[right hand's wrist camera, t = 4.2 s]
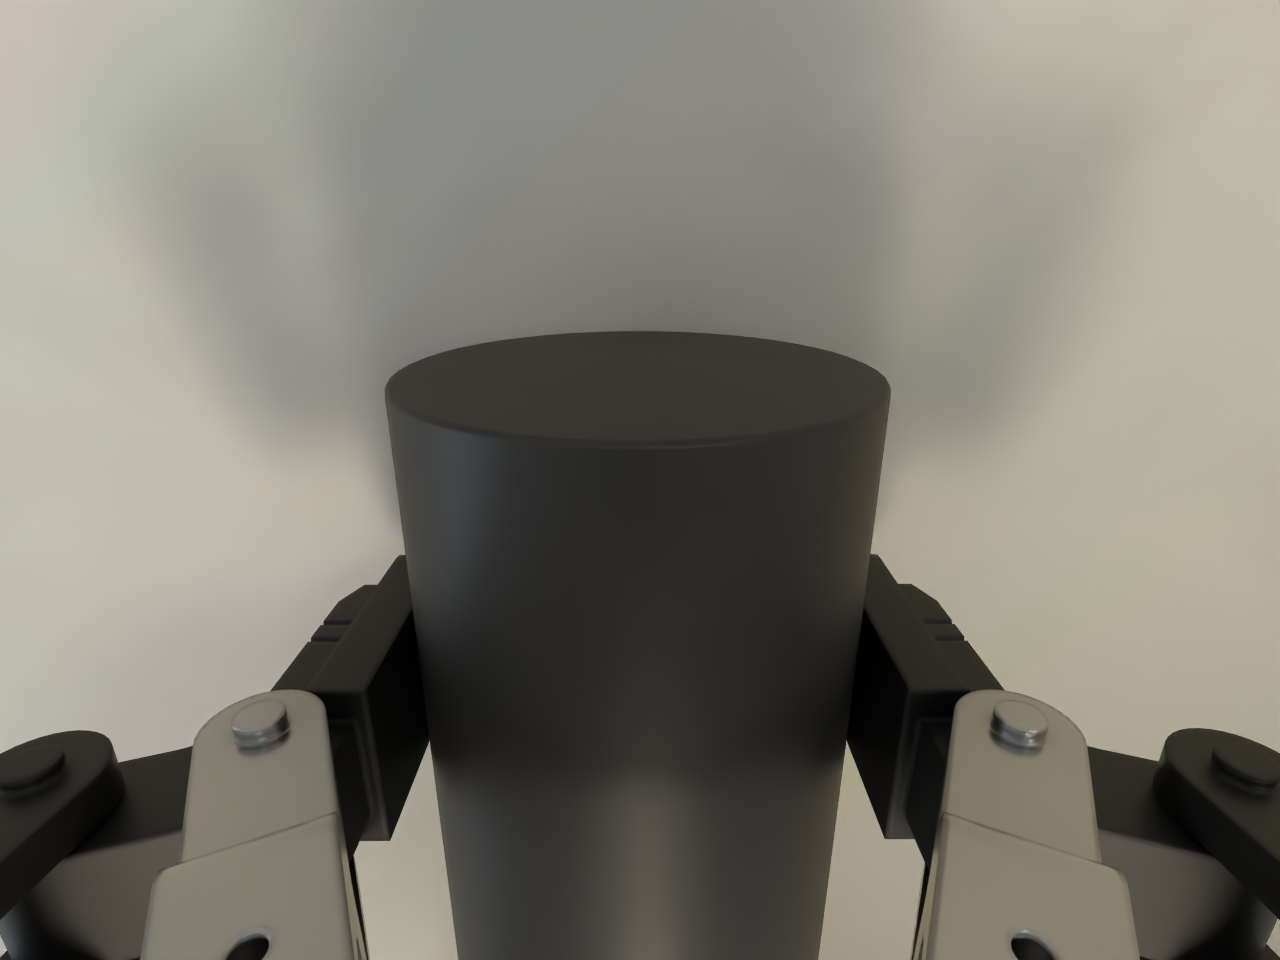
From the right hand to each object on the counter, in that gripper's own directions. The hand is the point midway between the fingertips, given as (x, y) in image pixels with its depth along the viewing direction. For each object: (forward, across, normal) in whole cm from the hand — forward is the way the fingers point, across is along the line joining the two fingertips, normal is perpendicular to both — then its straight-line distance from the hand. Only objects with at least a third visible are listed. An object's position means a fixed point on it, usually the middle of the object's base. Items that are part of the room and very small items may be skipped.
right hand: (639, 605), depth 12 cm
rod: (+2, 0, -10) cm, 10 cm away
